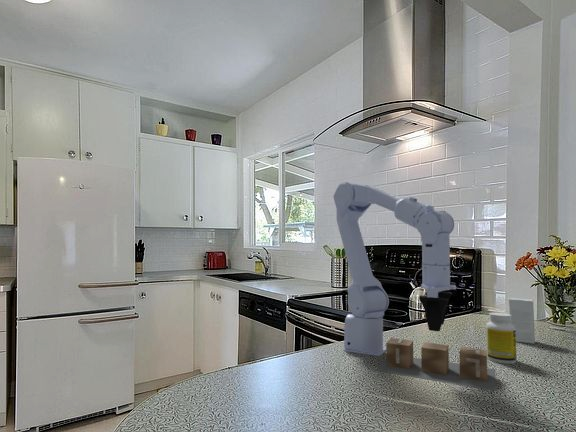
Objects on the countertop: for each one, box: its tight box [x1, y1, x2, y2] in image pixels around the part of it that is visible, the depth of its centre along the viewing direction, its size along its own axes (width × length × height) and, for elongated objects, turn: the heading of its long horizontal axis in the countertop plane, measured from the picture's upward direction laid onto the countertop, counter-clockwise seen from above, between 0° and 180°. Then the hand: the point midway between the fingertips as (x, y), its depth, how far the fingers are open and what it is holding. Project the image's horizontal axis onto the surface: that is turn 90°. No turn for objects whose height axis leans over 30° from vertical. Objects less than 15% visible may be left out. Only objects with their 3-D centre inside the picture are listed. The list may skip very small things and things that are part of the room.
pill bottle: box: [485, 312, 517, 365], centre depth 91 cm, size 6×6×11 cm
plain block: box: [420, 341, 450, 375], centre depth 83 cm, size 5×5×5 cm
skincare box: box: [508, 297, 536, 345], centre depth 111 cm, size 6×4×12 cm
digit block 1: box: [385, 337, 414, 369], centre depth 86 cm, size 5×5×5 cm
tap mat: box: [373, 356, 497, 392], centre depth 83 cm, size 23×14×1 cm, turn 62°
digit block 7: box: [458, 346, 488, 382], centre depth 80 cm, size 5×5×5 cm
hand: (436, 327), depth 84 cm, fingers open, 7 cm apart
